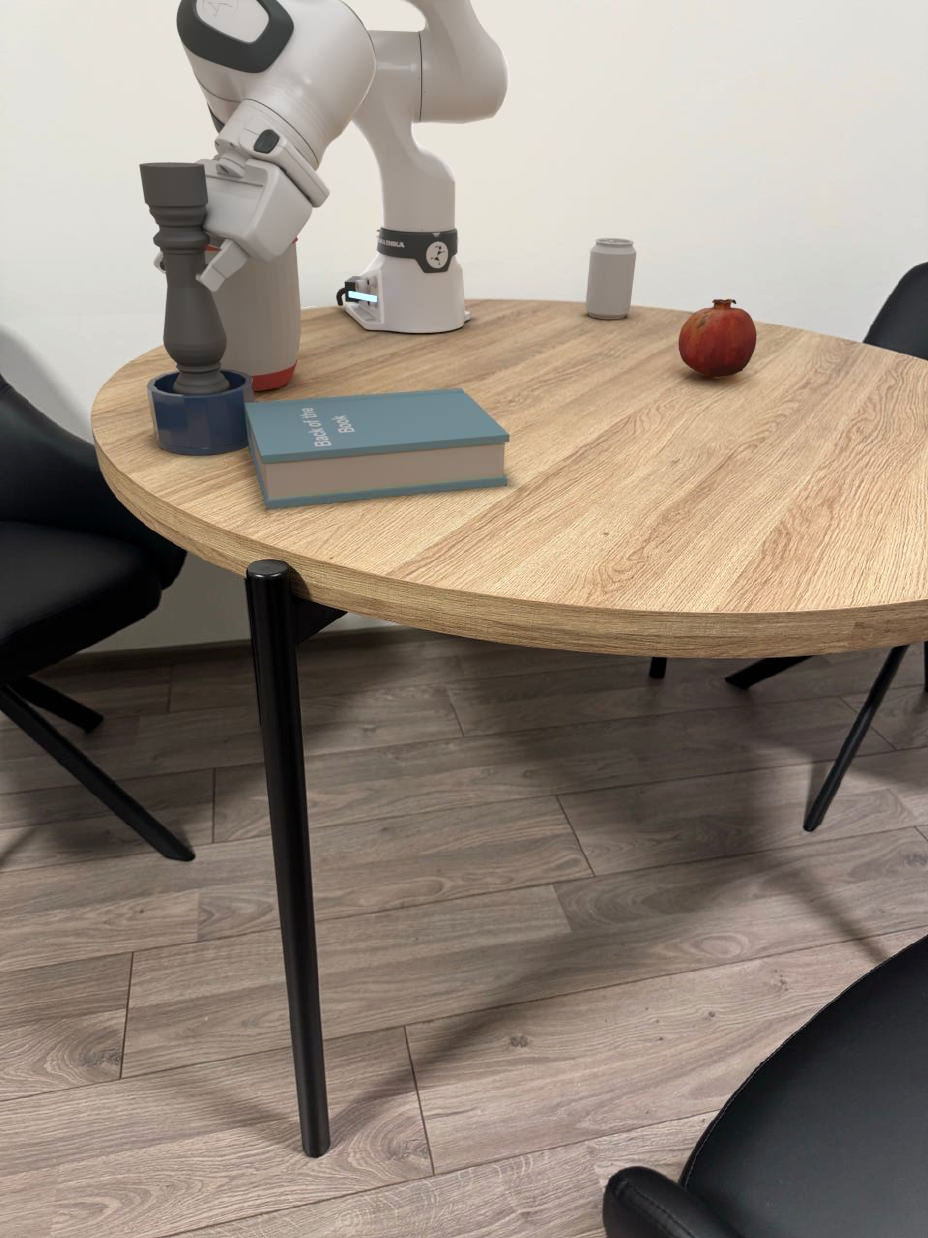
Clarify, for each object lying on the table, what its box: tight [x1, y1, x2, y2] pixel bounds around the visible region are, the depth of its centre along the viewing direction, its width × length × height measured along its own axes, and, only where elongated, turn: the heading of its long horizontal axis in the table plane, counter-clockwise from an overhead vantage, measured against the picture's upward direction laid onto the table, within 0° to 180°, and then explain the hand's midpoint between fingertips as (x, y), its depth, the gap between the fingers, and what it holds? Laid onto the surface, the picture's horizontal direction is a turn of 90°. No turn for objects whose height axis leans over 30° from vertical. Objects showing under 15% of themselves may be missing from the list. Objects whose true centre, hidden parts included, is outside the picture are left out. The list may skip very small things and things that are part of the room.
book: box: [245, 387, 511, 510], centre depth 86 cm, size 23×16×5 cm
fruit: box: [678, 298, 757, 378], centre depth 115 cm, size 11×10×10 cm
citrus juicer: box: [205, 236, 302, 392], centre depth 106 cm, size 16×17×20 cm
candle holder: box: [138, 161, 230, 395], centre depth 86 cm, size 6×6×25 cm
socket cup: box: [146, 368, 256, 456], centre depth 91 cm, size 10×10×6 cm
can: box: [584, 237, 637, 320], centre depth 146 cm, size 8×8×12 cm
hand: (182, 278), depth 84 cm, fingers open, 8 cm apart
